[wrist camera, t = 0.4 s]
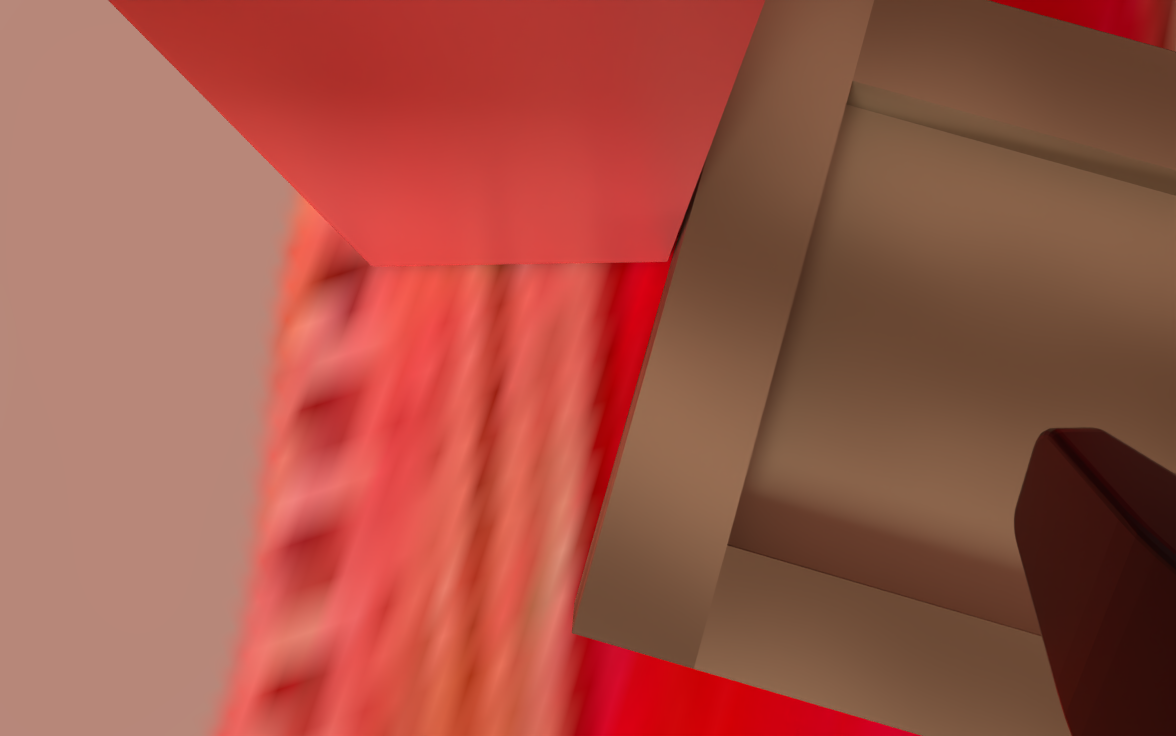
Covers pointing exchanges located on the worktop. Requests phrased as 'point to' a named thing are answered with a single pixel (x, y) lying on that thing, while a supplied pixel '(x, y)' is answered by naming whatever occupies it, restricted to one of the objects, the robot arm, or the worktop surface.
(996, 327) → the walnut base
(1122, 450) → the robot arm
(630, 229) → the red brick
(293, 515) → the worktop surface
